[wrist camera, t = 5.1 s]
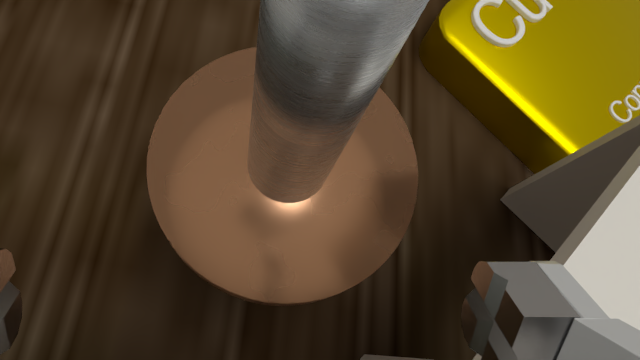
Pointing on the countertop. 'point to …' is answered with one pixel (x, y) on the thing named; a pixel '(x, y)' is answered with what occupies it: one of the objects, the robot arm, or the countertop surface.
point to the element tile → (540, 69)
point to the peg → (290, 154)
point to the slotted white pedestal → (589, 220)
